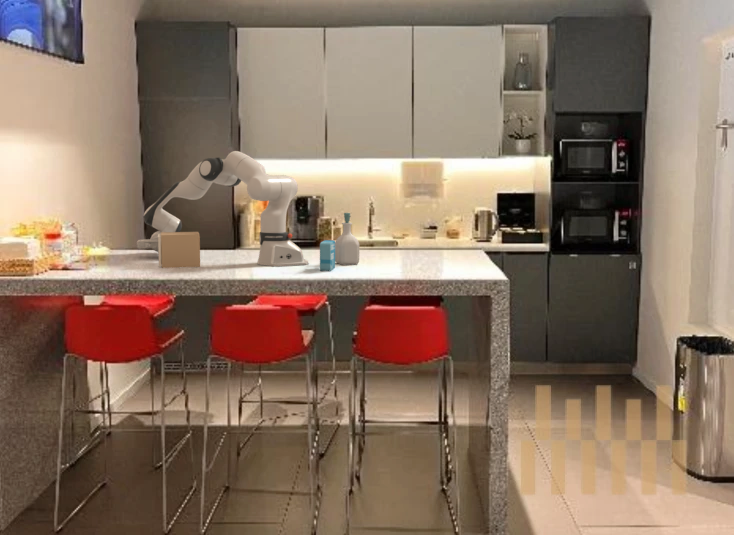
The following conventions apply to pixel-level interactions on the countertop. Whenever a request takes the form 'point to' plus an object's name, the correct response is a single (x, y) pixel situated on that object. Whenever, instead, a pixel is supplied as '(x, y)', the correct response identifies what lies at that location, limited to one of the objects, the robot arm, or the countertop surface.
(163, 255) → the carton
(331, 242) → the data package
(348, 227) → the soap bottle
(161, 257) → the inner tray
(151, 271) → the countertop surface
